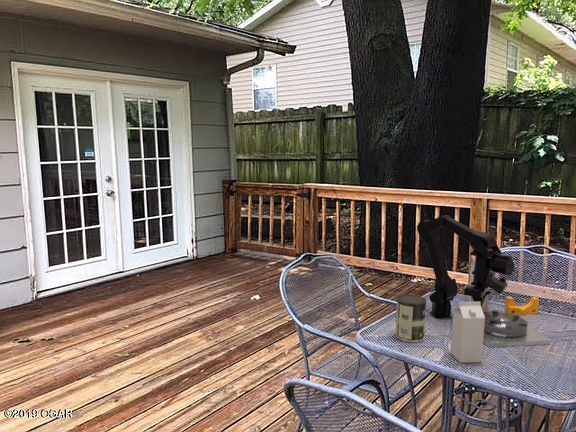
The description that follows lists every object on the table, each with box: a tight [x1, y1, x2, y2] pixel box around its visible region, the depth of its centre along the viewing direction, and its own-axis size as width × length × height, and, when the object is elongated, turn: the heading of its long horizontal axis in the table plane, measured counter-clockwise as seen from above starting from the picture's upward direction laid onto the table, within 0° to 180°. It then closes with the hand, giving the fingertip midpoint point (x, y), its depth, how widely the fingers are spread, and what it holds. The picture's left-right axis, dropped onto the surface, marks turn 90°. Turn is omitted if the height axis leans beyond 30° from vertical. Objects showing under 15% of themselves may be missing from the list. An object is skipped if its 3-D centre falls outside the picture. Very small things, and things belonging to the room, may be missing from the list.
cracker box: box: [467, 255, 490, 312], centre depth 199 cm, size 14×6×21 cm, turn 167°
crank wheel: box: [482, 300, 529, 337], centre depth 174 cm, size 17×17×9 cm
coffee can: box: [394, 293, 428, 343], centre depth 169 cm, size 10×10×14 cm
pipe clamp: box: [504, 296, 540, 316], centre depth 194 cm, size 12×4×6 cm, turn 88°
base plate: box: [483, 325, 551, 348], centre depth 175 cm, size 23×23×4 cm
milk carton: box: [450, 301, 485, 363], centre depth 153 cm, size 7×7×19 cm
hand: (479, 310), depth 176 cm, fingers closed
